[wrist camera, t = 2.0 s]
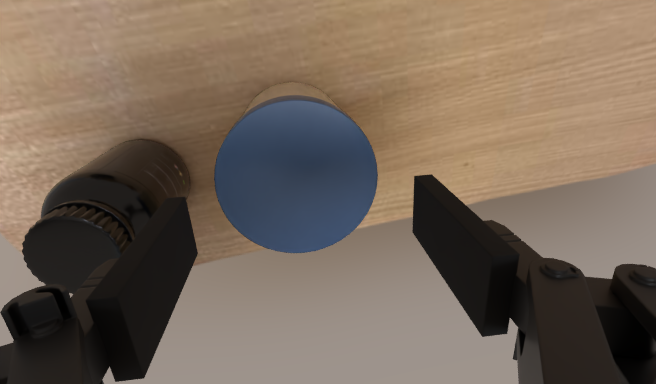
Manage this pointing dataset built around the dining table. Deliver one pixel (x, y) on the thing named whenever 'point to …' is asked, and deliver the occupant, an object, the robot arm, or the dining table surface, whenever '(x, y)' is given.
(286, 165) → the jar lid
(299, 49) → the dining table surface
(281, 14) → the dining table surface
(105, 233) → the supplement bottle
